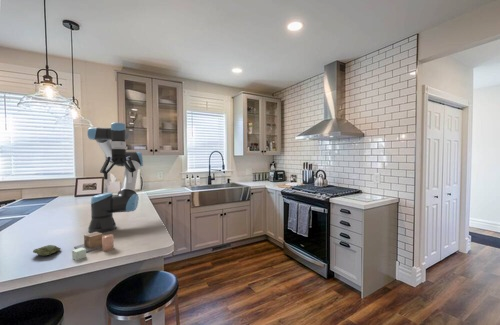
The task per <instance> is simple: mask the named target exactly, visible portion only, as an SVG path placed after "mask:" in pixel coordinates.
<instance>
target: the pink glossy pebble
mask: <svg viewBox="0 0 500 325" xmlns="http://www.w3.org/2000/svg"><path fill="white" fill-rule="evenodd" d="M114 240H115V239H114V234H105V235H102V249H101V251H103V252H109V251H112V250H113V249H114V246H115V245H114Z"/></svg>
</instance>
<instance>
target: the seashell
mask: <svg viewBox="0 0 500 325" xmlns="http://www.w3.org/2000/svg"><path fill="white" fill-rule="evenodd" d="M60 250H62V249H61V247H59V246H56V245H54V244H48V245H45V246H41V247H38V248H34V249H33V251H32V253H34V254H37V255H38V256H43V257H46V256H50V255H52V254H54V253H56V252H59V251H60Z"/></svg>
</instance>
